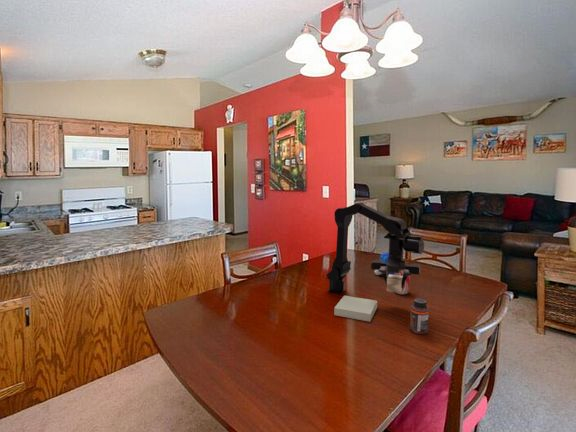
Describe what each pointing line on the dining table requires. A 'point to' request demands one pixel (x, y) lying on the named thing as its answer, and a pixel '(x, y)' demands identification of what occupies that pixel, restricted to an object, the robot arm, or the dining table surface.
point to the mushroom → (384, 258)
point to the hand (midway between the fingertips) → (394, 286)
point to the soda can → (406, 284)
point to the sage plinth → (356, 308)
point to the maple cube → (394, 283)
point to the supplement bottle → (419, 317)
